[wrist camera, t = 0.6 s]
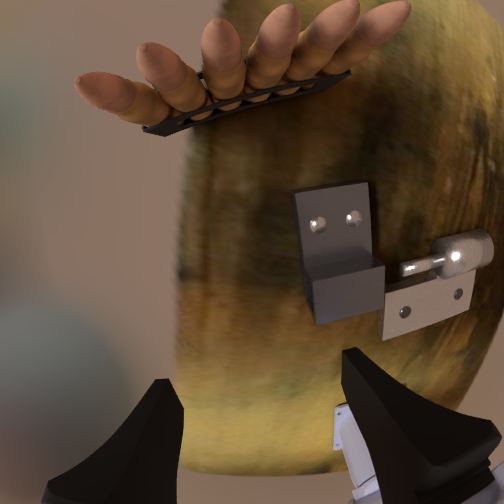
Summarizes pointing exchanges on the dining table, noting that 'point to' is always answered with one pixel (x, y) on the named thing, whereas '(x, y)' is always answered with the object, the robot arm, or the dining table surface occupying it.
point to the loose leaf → (338, 251)
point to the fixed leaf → (435, 284)
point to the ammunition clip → (244, 66)
